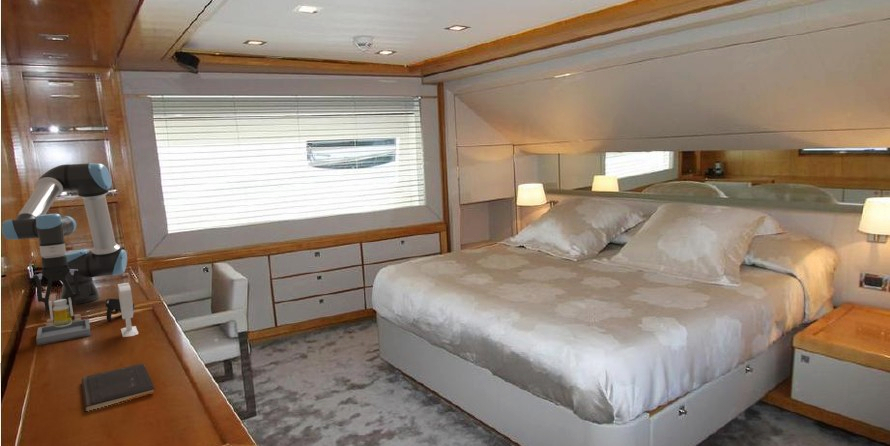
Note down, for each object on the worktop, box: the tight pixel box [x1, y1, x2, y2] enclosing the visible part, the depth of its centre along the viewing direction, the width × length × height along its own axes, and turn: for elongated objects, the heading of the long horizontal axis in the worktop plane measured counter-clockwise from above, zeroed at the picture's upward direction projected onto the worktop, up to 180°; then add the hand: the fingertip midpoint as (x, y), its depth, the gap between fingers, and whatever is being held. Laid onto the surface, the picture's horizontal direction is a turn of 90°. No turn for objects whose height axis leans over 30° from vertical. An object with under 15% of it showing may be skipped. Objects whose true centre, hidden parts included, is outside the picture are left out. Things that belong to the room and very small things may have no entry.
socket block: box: [45, 313, 82, 326], centre depth 212 cm, size 11×11×2 cm
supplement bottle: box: [52, 298, 72, 327], centre depth 199 cm, size 5×5×10 cm
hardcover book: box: [81, 363, 156, 413], centre depth 150 cm, size 16×23×2 cm
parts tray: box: [36, 318, 92, 346], centre depth 200 cm, size 16×16×2 cm
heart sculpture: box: [117, 282, 139, 338], centre depth 200 cm, size 16×5×18 cm, turn 34°
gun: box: [105, 297, 136, 322], centre depth 221 cm, size 3×16×10 cm, turn 175°
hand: (62, 316), depth 199 cm, fingers closed on supplement bottle, 5 cm apart
